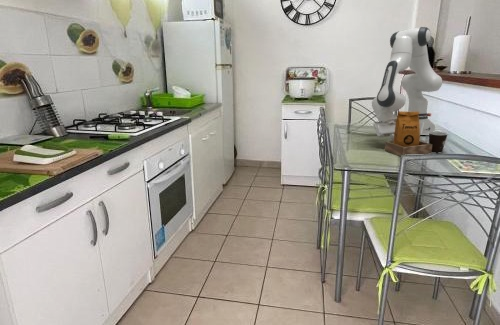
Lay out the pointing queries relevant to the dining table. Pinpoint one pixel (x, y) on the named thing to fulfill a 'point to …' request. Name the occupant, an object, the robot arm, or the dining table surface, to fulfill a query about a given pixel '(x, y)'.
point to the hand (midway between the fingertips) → (397, 140)
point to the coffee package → (407, 129)
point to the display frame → (408, 148)
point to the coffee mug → (437, 141)
